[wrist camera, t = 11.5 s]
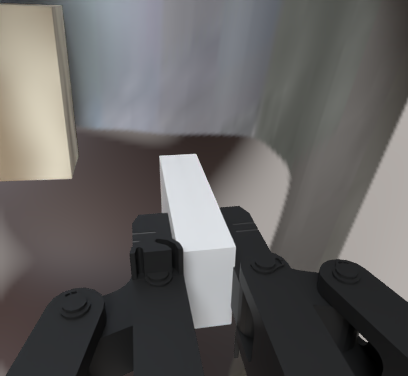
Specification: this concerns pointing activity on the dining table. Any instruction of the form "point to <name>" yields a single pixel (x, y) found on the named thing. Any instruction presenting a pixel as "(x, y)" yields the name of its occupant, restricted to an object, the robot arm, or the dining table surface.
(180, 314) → the robot arm
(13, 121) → the maple block
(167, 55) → the dining table surface
